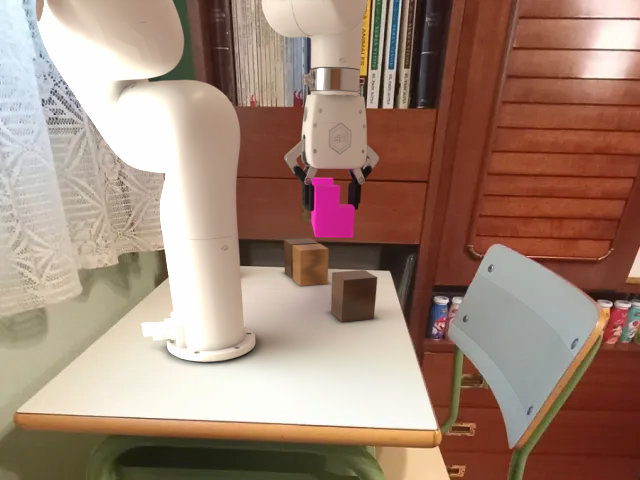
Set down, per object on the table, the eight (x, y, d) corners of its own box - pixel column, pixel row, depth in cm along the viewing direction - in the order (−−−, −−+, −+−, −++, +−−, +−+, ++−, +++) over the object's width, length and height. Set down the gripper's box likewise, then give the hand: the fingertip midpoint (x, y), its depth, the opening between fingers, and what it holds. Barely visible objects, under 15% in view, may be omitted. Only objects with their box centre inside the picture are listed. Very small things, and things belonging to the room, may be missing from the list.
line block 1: (291, 278, 102) (290, 244, 98) (284, 272, 106) (283, 239, 102) (317, 276, 104) (318, 242, 100) (310, 270, 108) (310, 238, 104)
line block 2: (341, 322, 80) (343, 280, 76) (330, 312, 84) (332, 272, 80) (374, 318, 82) (377, 277, 78) (361, 309, 86) (364, 269, 82)
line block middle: (300, 286, 97) (300, 250, 94) (292, 279, 101) (292, 245, 98) (327, 284, 99) (328, 248, 96) (319, 277, 103) (320, 243, 100)
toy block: (353, 237, 79) (355, 187, 75) (315, 237, 79) (316, 186, 75) (344, 222, 92) (346, 178, 88) (311, 221, 91) (311, 177, 87)
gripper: (288, 80, 68) (289, 214, 78) (396, 86, 74) (385, 211, 83) (273, 83, 74) (277, 207, 84) (375, 88, 80) (367, 205, 89)
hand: (331, 208), depth 83 cm, fingers closed on toy block, 7 cm apart
